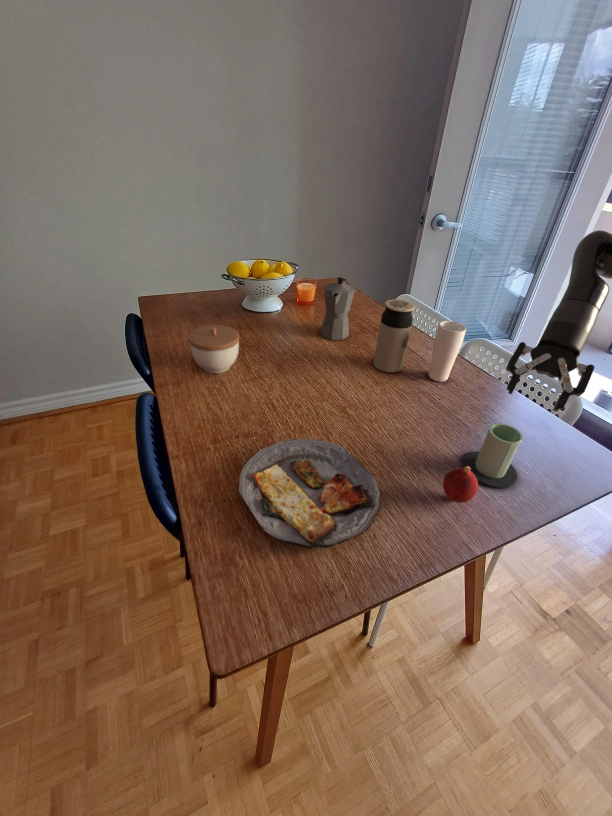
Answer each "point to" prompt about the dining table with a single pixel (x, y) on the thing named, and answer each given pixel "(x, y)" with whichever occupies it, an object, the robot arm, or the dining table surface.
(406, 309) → the travel mug
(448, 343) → the drinking glass
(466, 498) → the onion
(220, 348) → the lidded bowl
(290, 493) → the food plate
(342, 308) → the coffeepot
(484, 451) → the cup
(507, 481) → the coaster
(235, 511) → the dining table surface
